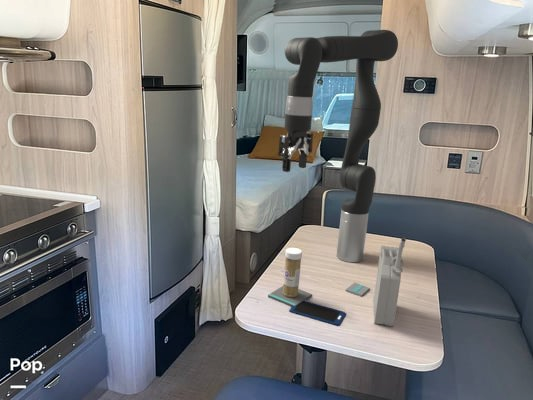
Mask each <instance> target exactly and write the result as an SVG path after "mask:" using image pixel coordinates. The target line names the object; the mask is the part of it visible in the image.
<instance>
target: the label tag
mask: <svg viewBox="0 0 533 400" xmlns="http://www.w3.org/2000/svg"><path fill="white" fill-rule="evenodd" d="M370 289H371V288H370V286H369V287H368V286H365V285H364V284H361V283H356V282H354V283H352V284H350V285H349V286H348V287H347V288H346V289H345V292H347V293H350V294H352V295H353V294H354V295H356V296H358V297H362V296H364V295H365V294H366V293H367V292H368V291H369V290H370Z"/></svg>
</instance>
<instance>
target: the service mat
mask: <svg viewBox="0 0 533 400" xmlns="http://www.w3.org/2000/svg"><path fill="white" fill-rule="evenodd" d="M283 286H284V285H281V286H280V287H278V288H277V289H275V290H273V291H272V292H270V293H269V294H267V297H268V298H269V299H272V300H274V301H277V302H280V303H282V304H284V305H287V306H289V307H290V308H291V307H292V306H294V307H295V306H297V305H298V304H299V303H301V302H302V301H307V300H308V299H310V298H311V297H312V295H313V294H312V293H310V292H308V291H306V290H302V289H300V288H298V295H297V296H296V297H287V296H285V295H284V294H283Z"/></svg>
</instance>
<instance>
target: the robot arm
mask: <svg viewBox="0 0 533 400" xmlns="http://www.w3.org/2000/svg"><path fill="white" fill-rule="evenodd" d="M398 40H399V39H398V37H397V35H396V34H395V32H393V31H392V30H389V29H373V30H366V31H364V32H362V34H361V35H331V36H329V35H327V36H321V37H314V36H310V37H309V36H308V37H307V36H306V37H305V36H304V37H294V38H291V39H290V40H289V41H288V42H287V43H286V45H285V48H284V55H285V58H286V60H287V61H288V62H289V63H290V64H293V65H296V66H298V70H297V72H296V73H294V74H291V75H290V76H289V78H288V81H287V83H288V84H287V95H286V97H287V98H286V101H285V112H284V126H283V127H284V129H285V130H287V134H286V135H285V134H280V135H279V140H278V141H279V142H278V152H277V156H278V157H281V158H282V169H281V170H282V171H283V172H285V173H289V172H291V165H292V156H293V155H294V153H296V151H297V150H298V152H299V156H298V157H299V158H298V167H299V168H300V169H306V168H307V161H308V160H307V159H308V156H309V155H310V154H309V153H312V152H313V141H314V139H313V138H314V133H313V132H310V131H311V130H312V117H313V109H314V106H313V105H314V104H313V97H314V86H315V85H314V84H315V80H316V77H317V74H318V71H319V69H320V65H321V63H323V64H324V63H325V64H327V63H336V62H344V61H350V60H351V61H352V60H356V67H355V68H356V69H355V82H354V90H353V97H352V105H351V110H350V117H349V125H348V126H349V127H348V134H347V138H346V139H347V140H346V144H345V145H346V146H345V151H344V155H343V158H342V159H343V160H342V163H341V167H340V173H339V183H340V185H341V187H342V188H343V189H346V190H349V191H352V192H355V196H354V198H347V199H345V200H343V201H342V203H341V209H340V210H341V211H340V221H339V227H338V228H339V229H338V237H337V246H336V257H337V258H338V259H339V260H341V261H344V262H348V263H358V262H362V261H363V259H364V252H365V244H366V236H367V229H368V221H369V214H370V207H371V205H372V202H373V197H374V191H375V185H376V179H377V174H376V170H375V169H374V167H372V166H370V165H364V164H362V163H361V164H360V162H359V161H360V156H361V152H362V149H363V148H364V146H365V145H366V143H367V142H368V141H369V139H370V138H371V137H372V136H373V134H374V133H375V131H376V130H377V128H378V126H379V122H380V117H381V116H380V115H381V111H382V110H381V109H382V103H381V98H380V95H379V92H378V90H377V87H376V83H375V80H374V70H375V69H374V68H375V62H386V61H390V60H391V59H392V58H393V57H395V55H396V53H397V51H398V48H399V41H398Z"/></svg>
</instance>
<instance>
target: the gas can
mask: <svg viewBox="0 0 533 400" xmlns="http://www.w3.org/2000/svg"><path fill="white" fill-rule="evenodd" d="M406 241H407V239H406V238H405V237H402V238H401V239H400V242H399V243H398V247H397V246H396V247H394V246H388V245H380V250H379V257H378V264H377V265H378V266H377V272H376V280H375V285H374V287H375V288H374V292H373V293H374V294H373V302H372V303H373V304H372V305H373V322H374V323H373V324H376V325H384V326H387V327H394V325H395V318H396V313H397V305H398V300H399V293H400V288H401V287H400V286H401V281H402V280H401V278H402V274H401V273H403V272H404V270H403V269H404V268H403V267H402V266H401V265H403V264H404V263H403V262H404V258H403V257H402V255H403V250H404V248H405V243H406Z"/></svg>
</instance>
